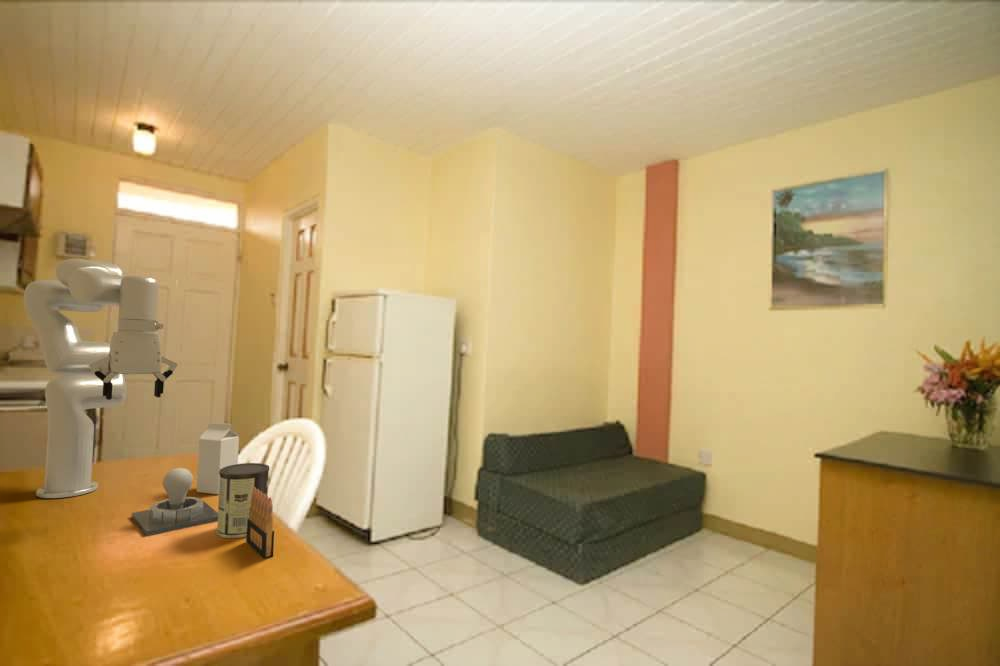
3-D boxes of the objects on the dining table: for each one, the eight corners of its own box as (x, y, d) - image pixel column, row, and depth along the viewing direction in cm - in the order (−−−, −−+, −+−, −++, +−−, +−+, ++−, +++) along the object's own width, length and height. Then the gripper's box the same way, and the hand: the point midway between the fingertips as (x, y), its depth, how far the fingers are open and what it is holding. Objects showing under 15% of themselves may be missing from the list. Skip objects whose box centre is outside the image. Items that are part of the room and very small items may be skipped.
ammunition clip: (273, 556, 100) (276, 497, 101) (263, 559, 99) (267, 499, 99) (255, 540, 108) (257, 485, 108) (245, 542, 107) (248, 486, 107)
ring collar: (131, 517, 118) (132, 502, 118) (202, 503, 129) (202, 490, 129) (146, 536, 107) (146, 520, 107) (221, 520, 118) (222, 505, 118)
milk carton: (218, 495, 136) (221, 426, 136) (196, 492, 137) (199, 424, 138) (236, 487, 143) (240, 422, 143) (215, 485, 144) (218, 420, 145)
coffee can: (256, 518, 121) (259, 460, 121) (273, 530, 113) (276, 469, 114) (209, 528, 113) (212, 467, 113) (225, 542, 106) (228, 477, 106)
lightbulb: (159, 520, 114) (161, 472, 114) (162, 511, 119) (165, 466, 120) (190, 516, 117) (192, 470, 117) (192, 508, 122) (194, 464, 122)
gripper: (174, 328, 128) (171, 394, 128) (89, 325, 116) (84, 398, 115) (183, 329, 123) (179, 397, 123) (94, 325, 111) (89, 401, 110)
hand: (133, 397), depth 119 cm, fingers open, 9 cm apart
